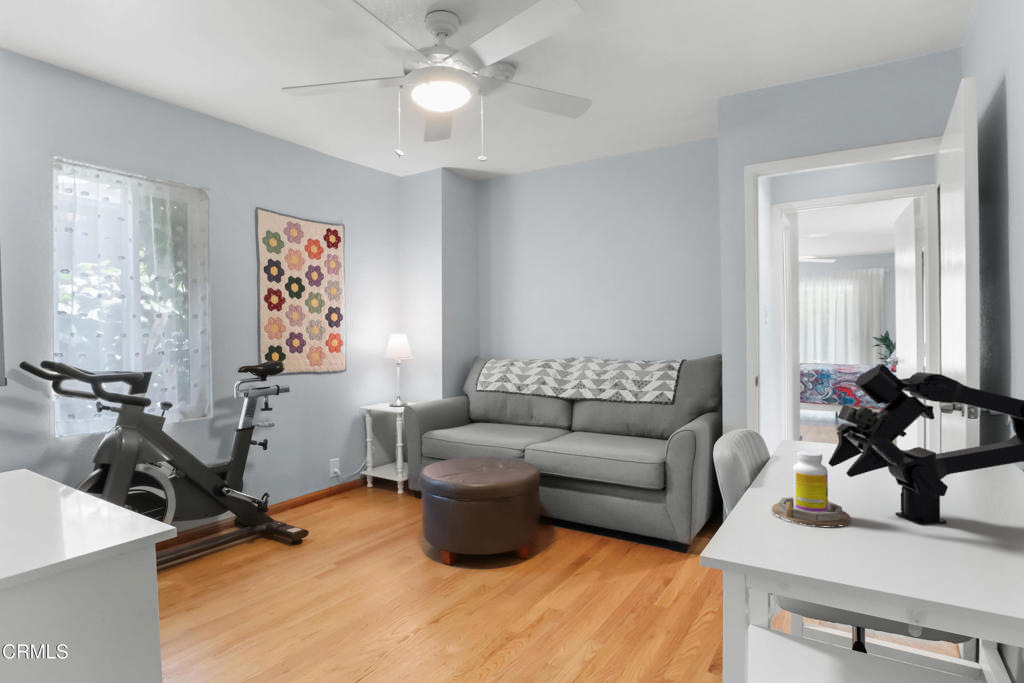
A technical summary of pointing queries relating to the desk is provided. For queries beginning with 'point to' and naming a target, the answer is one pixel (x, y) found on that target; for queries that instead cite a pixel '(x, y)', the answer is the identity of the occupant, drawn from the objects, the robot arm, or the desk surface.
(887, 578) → the desk surface
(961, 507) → the desk surface
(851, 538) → the desk surface
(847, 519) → the collar plate
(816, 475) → the supplement bottle
